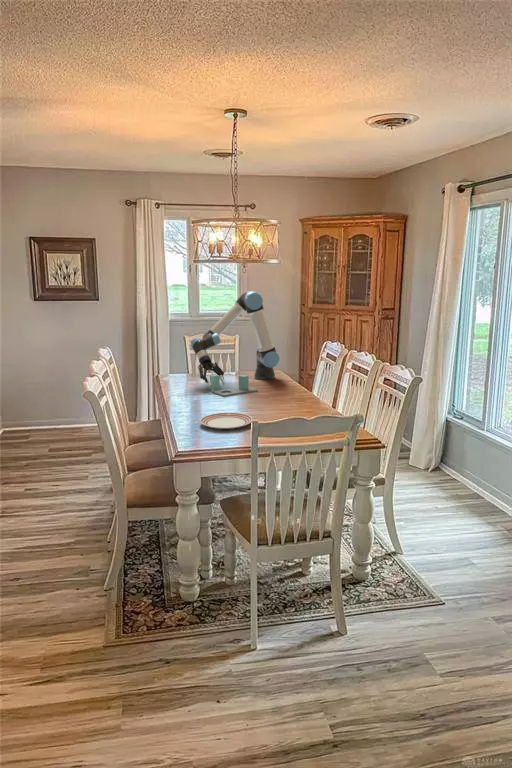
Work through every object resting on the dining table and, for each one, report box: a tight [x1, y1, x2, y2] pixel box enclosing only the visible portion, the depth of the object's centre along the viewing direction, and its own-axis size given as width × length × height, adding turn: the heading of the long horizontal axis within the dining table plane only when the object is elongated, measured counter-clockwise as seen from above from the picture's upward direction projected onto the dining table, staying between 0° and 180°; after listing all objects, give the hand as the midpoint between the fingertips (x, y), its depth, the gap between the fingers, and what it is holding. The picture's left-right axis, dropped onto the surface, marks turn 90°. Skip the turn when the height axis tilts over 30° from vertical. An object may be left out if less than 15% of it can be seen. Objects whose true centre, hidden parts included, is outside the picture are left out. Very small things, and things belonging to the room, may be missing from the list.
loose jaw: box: [209, 374, 221, 391], centre depth 389 cm, size 5×5×10 cm
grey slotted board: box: [211, 386, 258, 398], centre depth 384 cm, size 26×14×1 cm, turn 127°
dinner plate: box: [199, 412, 254, 430], centre depth 309 cm, size 28×27×3 cm
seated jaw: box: [238, 374, 250, 390], centre depth 387 cm, size 5×5×10 cm
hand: (217, 385), depth 387 cm, fingers open, 10 cm apart
